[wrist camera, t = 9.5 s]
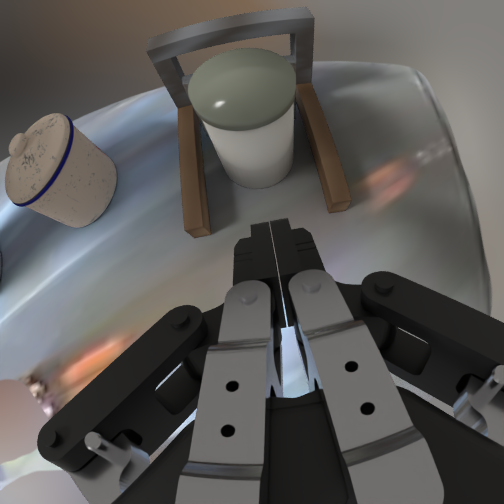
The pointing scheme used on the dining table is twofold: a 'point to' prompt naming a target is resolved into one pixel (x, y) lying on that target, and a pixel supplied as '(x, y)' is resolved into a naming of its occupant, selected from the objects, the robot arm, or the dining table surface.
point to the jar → (248, 113)
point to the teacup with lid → (59, 172)
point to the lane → (190, 146)
